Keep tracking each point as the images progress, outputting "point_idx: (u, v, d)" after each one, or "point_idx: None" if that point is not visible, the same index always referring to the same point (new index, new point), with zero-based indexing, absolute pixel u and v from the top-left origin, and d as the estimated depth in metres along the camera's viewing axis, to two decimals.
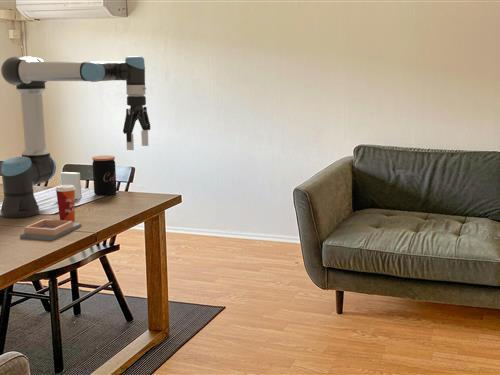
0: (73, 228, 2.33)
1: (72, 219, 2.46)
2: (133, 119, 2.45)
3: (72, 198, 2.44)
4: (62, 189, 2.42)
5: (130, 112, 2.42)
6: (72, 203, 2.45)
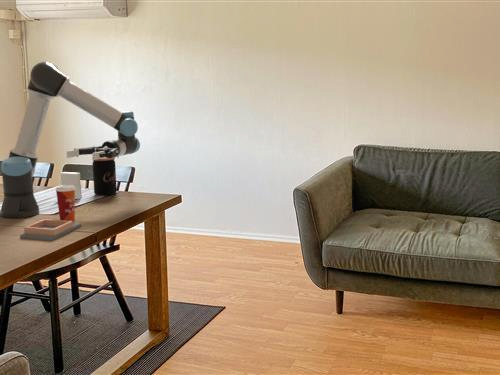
0: (73, 228, 2.33)
1: (72, 219, 2.46)
2: None
3: (72, 198, 2.44)
4: (62, 189, 2.42)
5: (116, 153, 2.61)
6: (72, 203, 2.45)
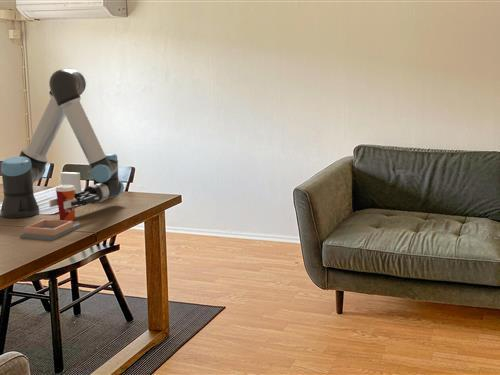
0: (73, 228, 2.33)
1: (72, 219, 2.46)
2: None
3: (72, 198, 2.44)
4: (62, 189, 2.42)
5: (96, 199, 2.53)
6: None
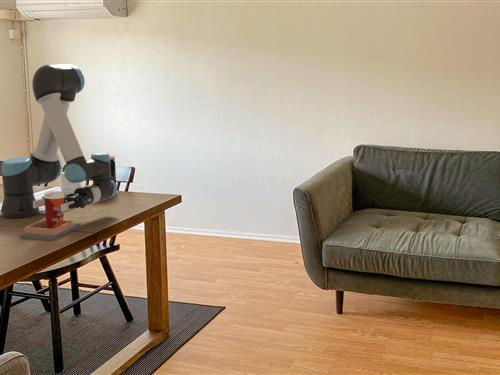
0: (73, 228, 2.33)
1: None
2: None
3: None
4: (50, 196, 2.23)
5: (89, 201, 2.37)
6: (60, 212, 2.26)
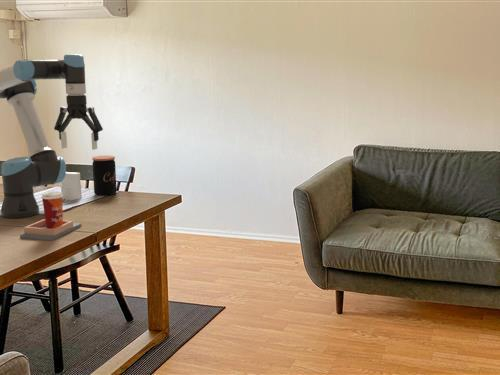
0: (73, 228, 2.33)
1: None
2: None
3: (59, 206, 2.25)
4: (48, 196, 2.23)
5: None
6: (59, 212, 2.26)
